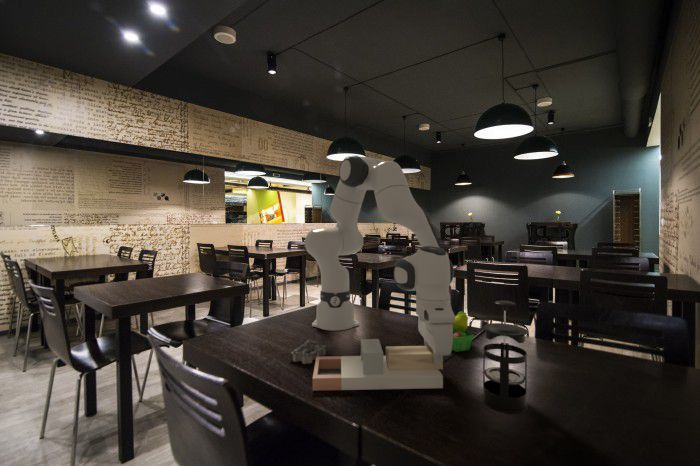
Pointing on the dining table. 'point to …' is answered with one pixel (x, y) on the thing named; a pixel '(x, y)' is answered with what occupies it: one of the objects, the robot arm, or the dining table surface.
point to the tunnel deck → (369, 372)
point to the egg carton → (308, 352)
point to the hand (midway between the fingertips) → (432, 359)
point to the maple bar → (410, 358)
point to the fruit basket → (461, 333)
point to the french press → (505, 368)
